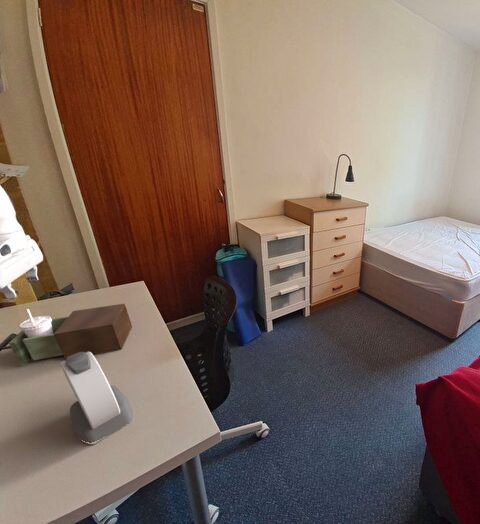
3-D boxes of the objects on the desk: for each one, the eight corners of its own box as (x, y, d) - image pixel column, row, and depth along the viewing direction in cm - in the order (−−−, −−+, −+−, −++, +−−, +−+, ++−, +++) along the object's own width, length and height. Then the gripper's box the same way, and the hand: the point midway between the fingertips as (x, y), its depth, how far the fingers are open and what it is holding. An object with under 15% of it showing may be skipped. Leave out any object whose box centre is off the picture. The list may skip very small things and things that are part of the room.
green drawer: (-4, 369, 78) (-17, 347, 75) (21, 344, 87) (10, 323, 84) (76, 354, 84) (67, 333, 81) (91, 332, 94) (83, 312, 91)
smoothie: (25, 353, 82) (6, 312, 77) (52, 340, 88) (35, 301, 83) (41, 357, 81) (22, 315, 76) (67, 344, 86) (51, 304, 81)
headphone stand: (141, 421, 66) (119, 362, 59) (85, 457, 59) (51, 393, 51) (118, 387, 75) (95, 331, 68) (66, 414, 67) (35, 354, 60)
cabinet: (65, 360, 83) (53, 334, 79) (83, 335, 94) (73, 310, 90) (121, 349, 88) (112, 324, 84) (132, 326, 99) (124, 303, 95)
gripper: (11, 231, 80) (30, 274, 86) (-48, 257, 63) (-19, 309, 68) (40, 230, 82) (57, 272, 88) (-9, 254, 65) (16, 305, 71)
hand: (24, 289), depth 78 cm, fingers open, 8 cm apart
